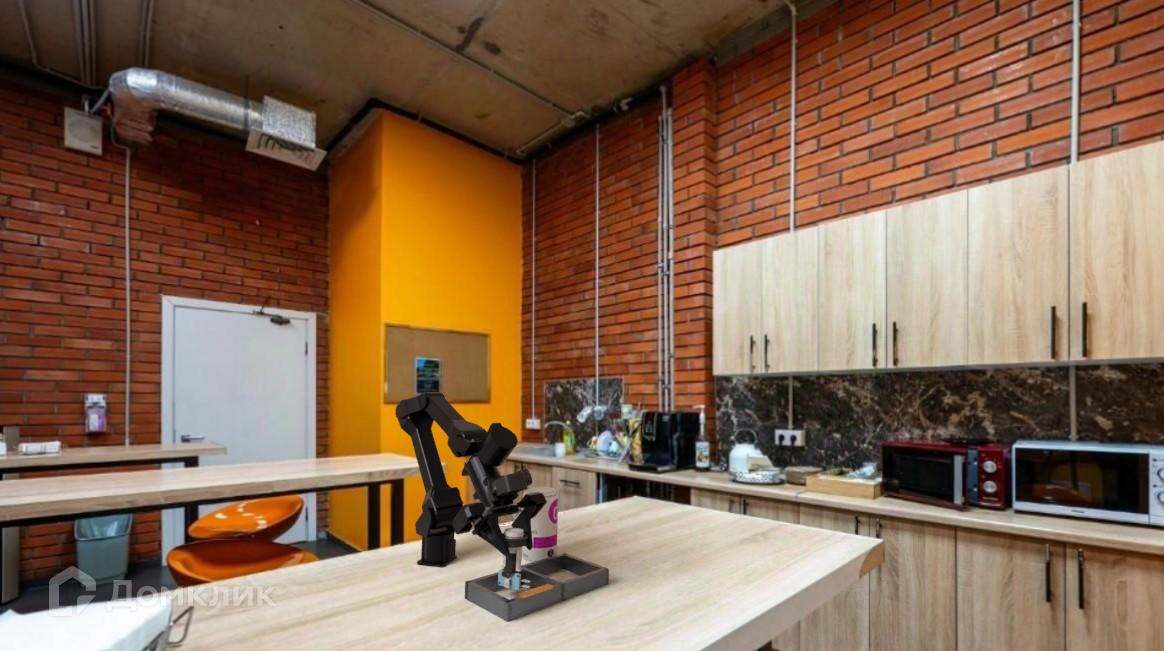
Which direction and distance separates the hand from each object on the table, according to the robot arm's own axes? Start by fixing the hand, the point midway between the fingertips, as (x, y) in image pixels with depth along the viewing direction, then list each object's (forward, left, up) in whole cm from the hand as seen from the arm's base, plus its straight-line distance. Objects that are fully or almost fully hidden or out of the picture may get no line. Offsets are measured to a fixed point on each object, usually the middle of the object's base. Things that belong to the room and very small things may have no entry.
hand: (519, 551), depth 101 cm
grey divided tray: (+2, +6, -9) cm, 11 cm away
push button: (-1, +1, -7) cm, 7 cm away
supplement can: (-5, +25, -9) cm, 27 cm away
